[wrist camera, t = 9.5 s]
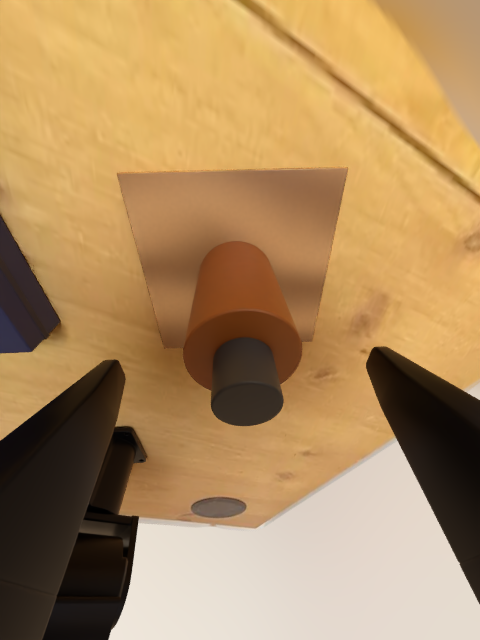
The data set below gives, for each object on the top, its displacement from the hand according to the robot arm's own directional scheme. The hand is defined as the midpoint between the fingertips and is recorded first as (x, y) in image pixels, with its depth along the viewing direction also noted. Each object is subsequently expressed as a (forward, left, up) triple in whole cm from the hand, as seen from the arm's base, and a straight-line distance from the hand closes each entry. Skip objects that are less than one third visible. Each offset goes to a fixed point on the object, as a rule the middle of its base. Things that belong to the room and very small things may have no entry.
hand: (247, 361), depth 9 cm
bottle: (0, 0, -7) cm, 7 cm away
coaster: (0, 0, -8) cm, 8 cm away
